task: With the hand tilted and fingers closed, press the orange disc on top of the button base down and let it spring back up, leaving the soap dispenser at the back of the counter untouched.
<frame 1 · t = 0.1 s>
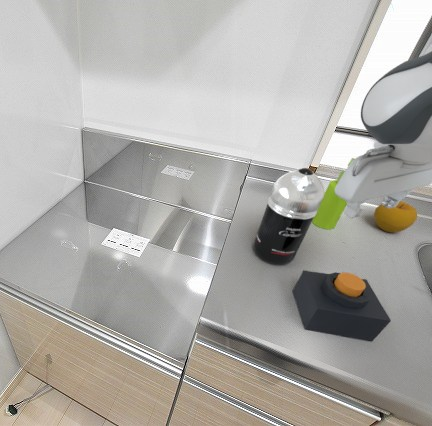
hand: (369, 210, 56), 22 cm above the worktop, tool pointing down, fingers open, 8 cm apart
orange disc: (349, 284, 57), point 10 cm above the worktop, slide at 0.1 cm
button base: (328, 314, 62), on the worktop
soap dispenser: (323, 222, 88), on the worktop
apple: (384, 229, 85), on the worktop
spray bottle: (271, 253, 78), on the worktop
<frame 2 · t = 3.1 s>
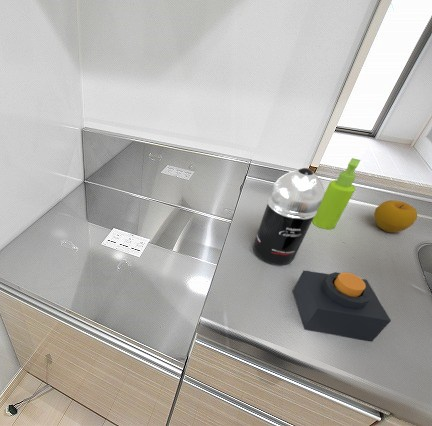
nothing on the worktop moved.
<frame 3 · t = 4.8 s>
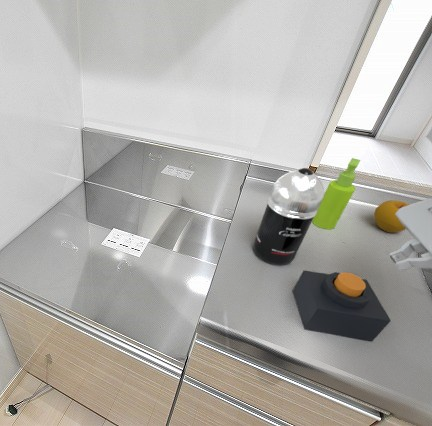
hand: (393, 262, 52), 17 cm above the worktop, tool tilted 45°, fingers closed
nothing on the worktop moved.
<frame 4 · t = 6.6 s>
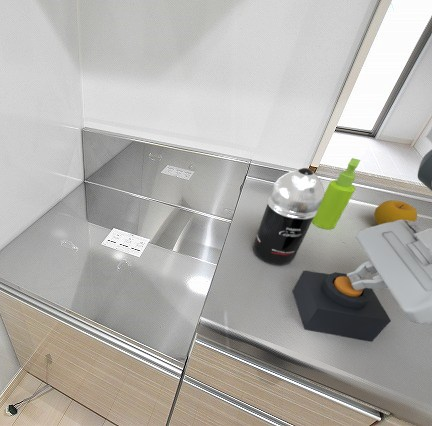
hand: (350, 282, 56), 10 cm above the worktop, tool tilted 45°, fingers closed, pressing on orange disc
orange disc: (346, 288, 57), point 8 cm above the worktop, slide at -1.0 cm, touching gripper
everything else where it was.
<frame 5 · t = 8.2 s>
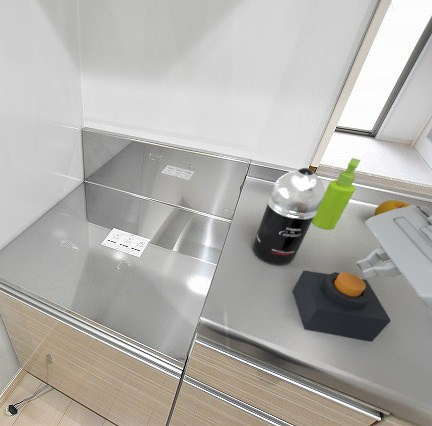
hand: (361, 270, 54), 14 cm above the worktop, tool tilted 45°, fingers closed
orange disc: (349, 284, 57), point 10 cm above the worktop, slide at 0.1 cm
everything else where it was.
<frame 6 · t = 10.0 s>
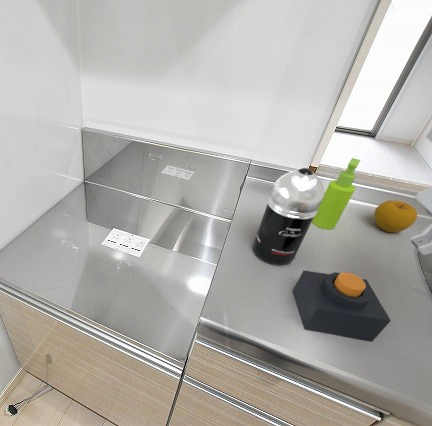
hand: (415, 246, 49), 21 cm above the worktop, tool tilted 45°, fingers closed
nothing on the worktop moved.
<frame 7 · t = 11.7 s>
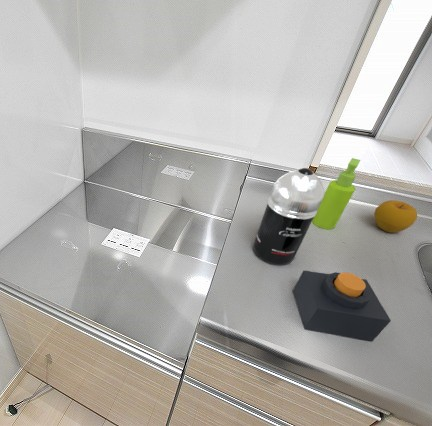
nothing on the worktop moved.
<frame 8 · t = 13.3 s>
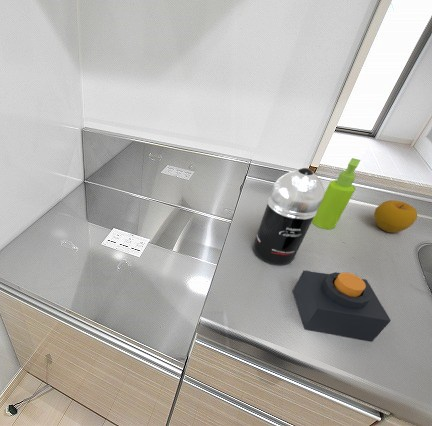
nothing on the worktop moved.
at the end: orange disc pushed in 1.5 cm at the most during the clip, back to where it started at the end; orange disc slide at 0.1 cm; soap dispenser moved 0.2 cm from its start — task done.
